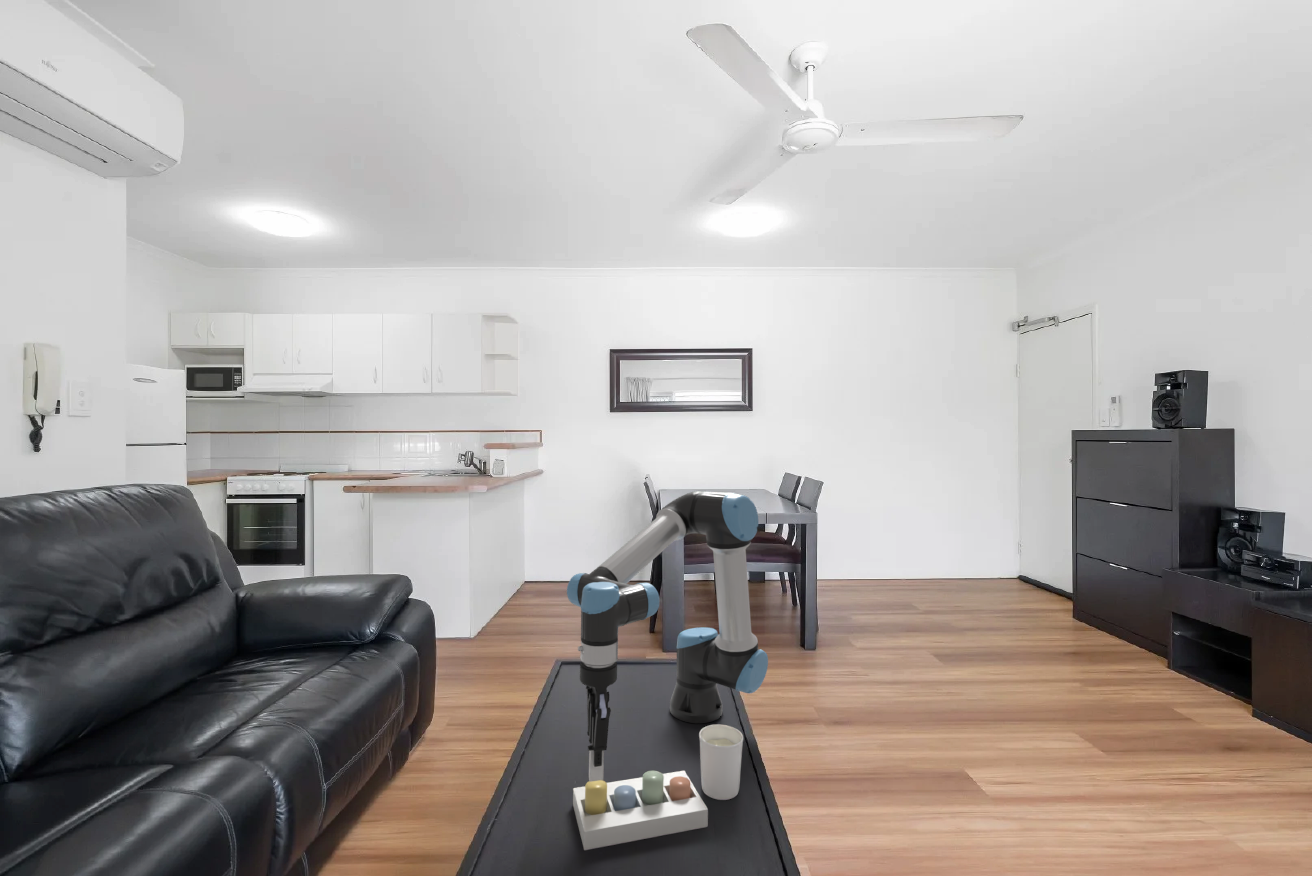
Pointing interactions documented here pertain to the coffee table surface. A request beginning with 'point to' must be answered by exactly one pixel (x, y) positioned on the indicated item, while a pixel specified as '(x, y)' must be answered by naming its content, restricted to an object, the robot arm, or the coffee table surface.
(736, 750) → the candle holder
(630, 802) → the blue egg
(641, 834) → the white slotted tray
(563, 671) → the coffee table surface
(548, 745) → the coffee table surface
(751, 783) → the coffee table surface
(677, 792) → the orange rounded piece
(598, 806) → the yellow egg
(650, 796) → the pale green rounded piece
